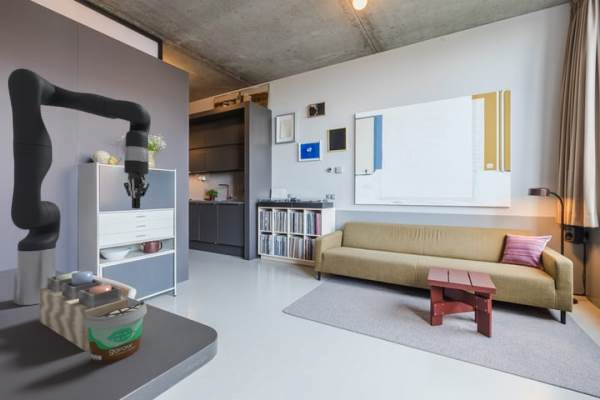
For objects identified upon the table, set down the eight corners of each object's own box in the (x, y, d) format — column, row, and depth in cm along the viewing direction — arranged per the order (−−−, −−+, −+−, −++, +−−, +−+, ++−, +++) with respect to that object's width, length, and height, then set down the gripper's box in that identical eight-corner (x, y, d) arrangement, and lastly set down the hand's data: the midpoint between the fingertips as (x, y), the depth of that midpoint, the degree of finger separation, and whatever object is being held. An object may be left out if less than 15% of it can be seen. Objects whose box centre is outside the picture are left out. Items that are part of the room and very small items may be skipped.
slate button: (68, 286, 72) (68, 273, 72) (88, 281, 76) (88, 270, 76) (75, 289, 70) (75, 276, 70) (95, 284, 73) (95, 272, 73)
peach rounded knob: (85, 301, 67) (85, 288, 67) (105, 296, 70) (106, 284, 70) (94, 305, 64) (94, 292, 64) (114, 299, 68) (114, 287, 68)
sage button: (53, 287, 77) (53, 276, 77) (72, 283, 81) (72, 272, 81) (59, 290, 75) (59, 278, 75) (79, 285, 78) (79, 274, 78)
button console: (39, 321, 76) (40, 278, 76) (78, 310, 84) (79, 271, 84) (85, 351, 61) (86, 298, 62) (127, 334, 69) (128, 287, 69)
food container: (96, 374, 53) (96, 323, 53) (82, 364, 57) (83, 316, 57) (157, 346, 64) (157, 304, 64) (143, 339, 67) (143, 298, 67)
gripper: (116, 160, 99) (115, 208, 99) (136, 158, 92) (135, 209, 92) (137, 163, 105) (136, 207, 105) (157, 161, 98) (156, 208, 98)
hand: (135, 208), depth 99 cm, fingers closed
